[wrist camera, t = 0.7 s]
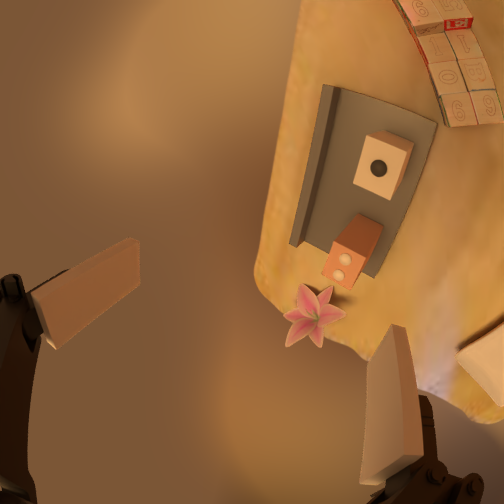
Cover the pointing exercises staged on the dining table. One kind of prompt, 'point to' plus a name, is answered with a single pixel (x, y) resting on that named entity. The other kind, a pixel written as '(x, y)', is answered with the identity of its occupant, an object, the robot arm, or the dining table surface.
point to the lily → (311, 315)
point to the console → (345, 166)
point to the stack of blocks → (453, 60)
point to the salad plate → (486, 362)
